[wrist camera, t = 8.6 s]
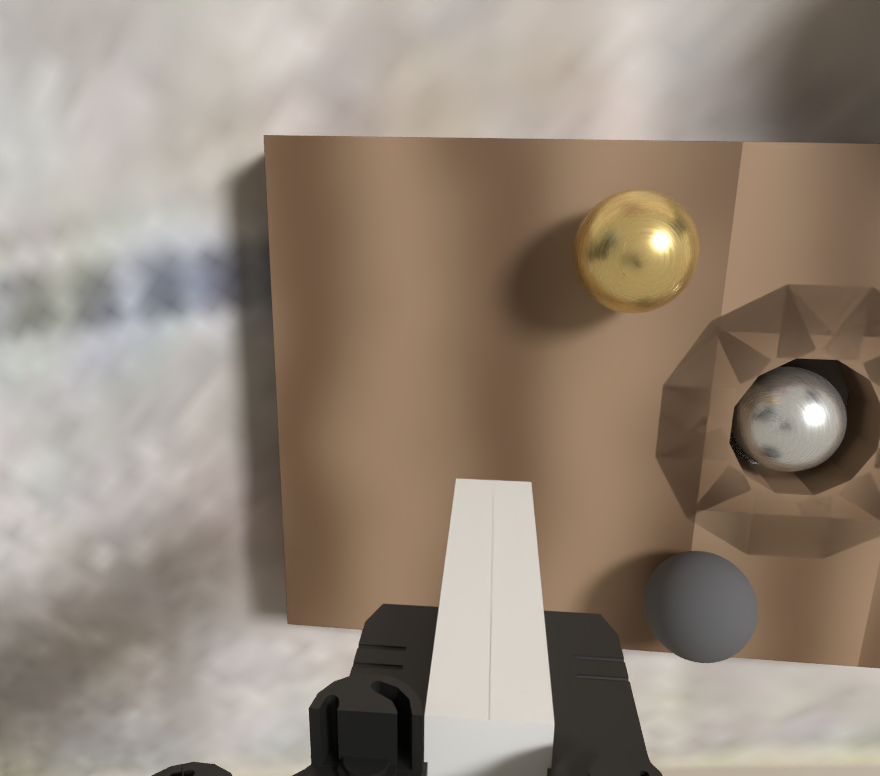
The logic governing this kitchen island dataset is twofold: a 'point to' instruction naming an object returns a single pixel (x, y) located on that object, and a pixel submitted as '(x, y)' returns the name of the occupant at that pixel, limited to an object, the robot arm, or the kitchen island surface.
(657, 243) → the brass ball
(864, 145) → the board
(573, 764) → the robot arm
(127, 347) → the kitchen island surface
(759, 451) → the steel ball
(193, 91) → the kitchen island surface
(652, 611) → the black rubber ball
